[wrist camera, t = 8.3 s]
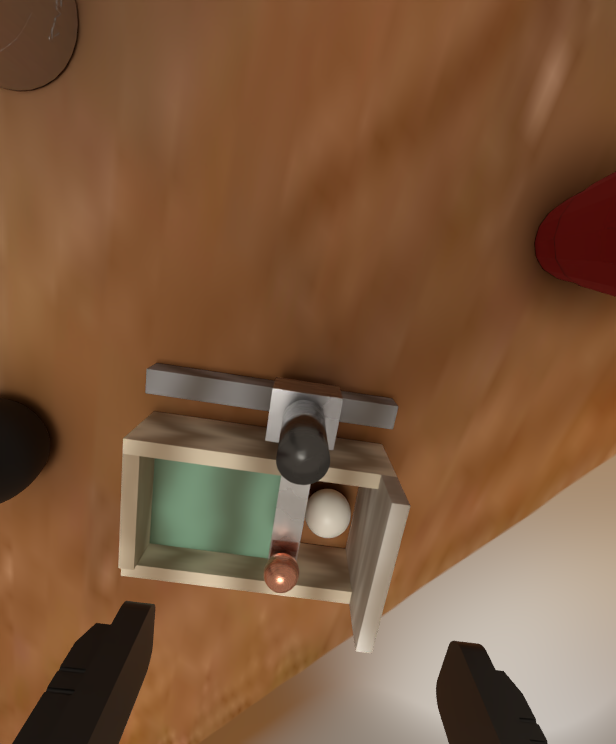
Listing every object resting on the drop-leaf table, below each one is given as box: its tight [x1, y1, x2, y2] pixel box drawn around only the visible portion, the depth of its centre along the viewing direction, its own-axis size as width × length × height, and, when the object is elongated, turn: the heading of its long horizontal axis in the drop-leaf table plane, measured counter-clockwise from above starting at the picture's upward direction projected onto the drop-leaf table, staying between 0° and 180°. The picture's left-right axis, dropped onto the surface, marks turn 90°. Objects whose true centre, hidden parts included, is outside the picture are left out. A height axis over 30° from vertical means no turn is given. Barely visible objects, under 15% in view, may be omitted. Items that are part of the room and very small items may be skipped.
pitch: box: [118, 363, 410, 653], centre depth 29 cm, size 20×17×9 cm
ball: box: [305, 489, 351, 538], centre depth 32 cm, size 4×4×4 cm
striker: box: [264, 377, 343, 593], centre depth 26 cm, size 5×13×9 cm, turn 171°
